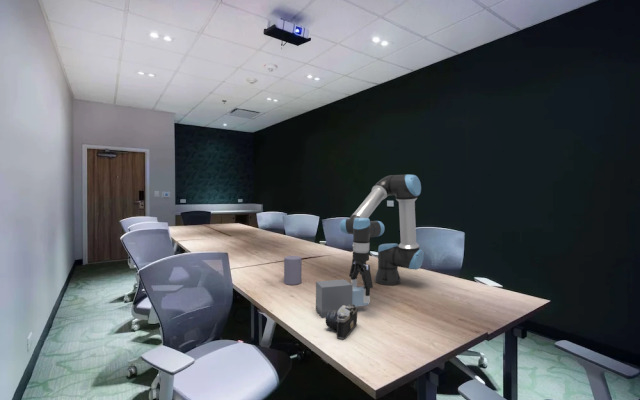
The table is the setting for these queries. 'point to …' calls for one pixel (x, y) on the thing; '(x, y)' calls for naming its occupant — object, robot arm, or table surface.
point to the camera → (342, 320)
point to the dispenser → (332, 295)
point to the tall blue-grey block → (358, 296)
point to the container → (292, 270)
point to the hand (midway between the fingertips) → (359, 297)
